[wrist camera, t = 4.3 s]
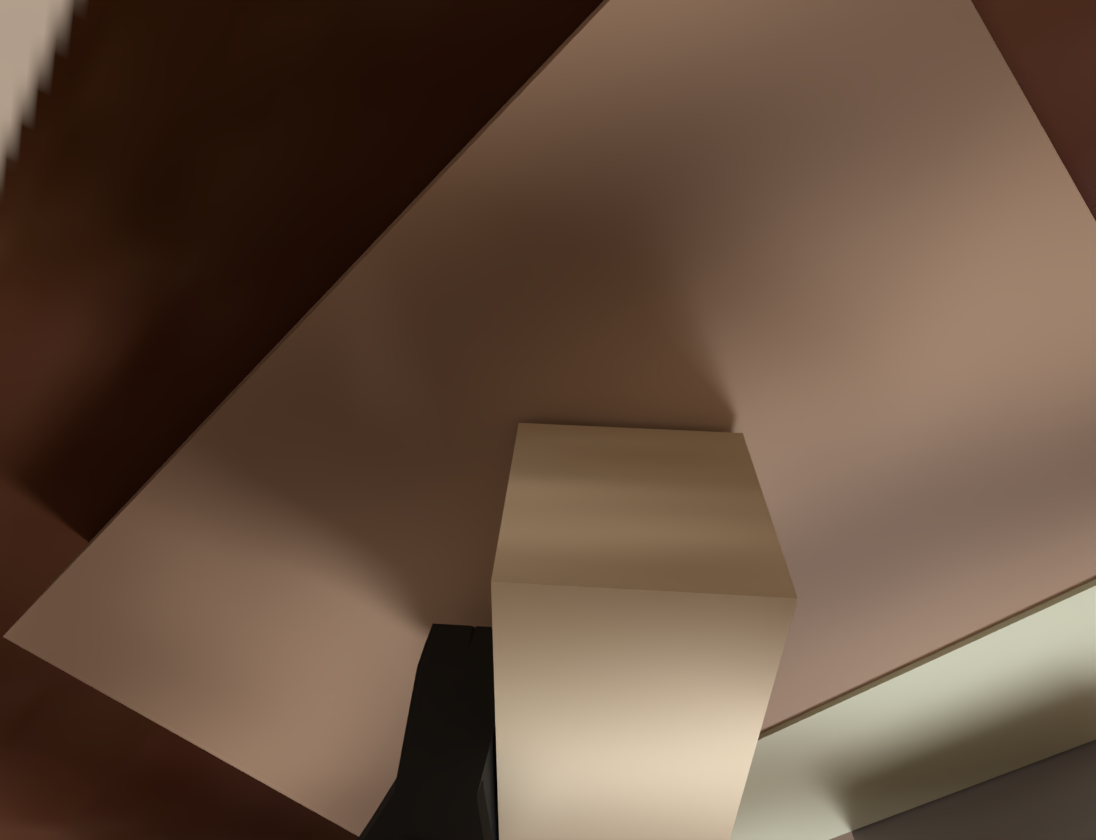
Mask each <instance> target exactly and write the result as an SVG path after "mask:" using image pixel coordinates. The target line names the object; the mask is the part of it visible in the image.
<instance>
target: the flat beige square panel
mask: <svg viewBox="0 0 1096 840" xmlns="http://www.w3.org/2000/svg"><path fill="white" fill-rule="evenodd" d="M519 423H534V424H555V425H577V426H599V427H621V428H643V429H665V430H687V431H709V432H731V433H743V436H744V439H745V442H746V445H747V448H748V451H749V453H750V456H751V459H752V462H753V465H754V468H755V471H756V474H757V477H758V480H759V483H760V486H761V489H762V492H763V495H764V498H765V501H766V504H767V507H768V510H769V513H770V516H771V519H772V522H773V525H774V528H775V531H776V534H777V537H778V540H779V543H780V546H781V549H782V552H783V555H784V558H785V561H786V564H787V567H788V570H789V573H790V576H791V579H792V582H793V585H794V588H795V591H796V594H797V597H798V599H797V603H796V607H795V610H794V614H793V617H792V621H791V624H790V628H789V631H788V635H787V638H786V642H785V646H784V649H783V653H782V656H781V660H780V663H779V667H778V670H777V674H776V677H775V681H774V684H773V688H772V692H771V695H770V699H769V702H768V706H767V709H766V713H765V716H764V720H763V723H762V727H761V731H760V734H759V738H758V741H757V745H756V748H755V752H754V755H753V759H752V762H751V766H750V770H749V773H748V777H747V780H746V784H745V787H744V791H743V794H742V798H741V801H740V805H739V808H738V812H737V816H736V819H735V823H734V826H733V830H732V833H731V837H730V840H1096V221H1095V219H1094V218H1093V216H1092V214H1091V212H1090V211H1089V209H1088V207H1087V205H1086V204H1085V202H1084V200H1083V198H1082V196H1081V195H1080V193H1079V191H1078V189H1077V188H1076V186H1075V184H1074V182H1073V180H1072V179H1071V177H1070V175H1069V173H1068V172H1067V170H1066V168H1065V166H1064V165H1063V163H1062V161H1061V159H1060V157H1059V156H1058V154H1057V152H1056V150H1055V149H1054V147H1053V145H1052V143H1051V141H1050V140H1049V138H1048V136H1047V134H1046V133H1045V131H1044V129H1043V127H1042V126H1041V124H1040V122H1039V120H1038V118H1037V117H1036V115H1035V113H1034V111H1033V110H1032V108H1031V106H1030V104H1029V103H1028V101H1027V99H1026V97H1025V95H1024V94H1023V92H1022V90H1021V88H1020V87H1019V85H1018V83H1017V81H1016V79H1015V78H1014V76H1013V74H1012V72H1011V71H1010V69H1009V67H1008V65H1007V64H1006V62H1005V60H1004V58H1003V56H1002V55H1001V53H1000V51H999V49H998V48H997V46H996V44H995V42H994V40H993V39H992V37H991V35H990V33H989V32H988V30H987V28H986V26H985V25H984V23H983V21H982V19H981V17H980V16H979V14H978V12H977V10H976V9H975V7H974V5H973V3H972V1H971V0H603V1H602V2H601V4H600V5H599V6H598V7H597V8H596V9H595V10H594V11H593V12H592V13H591V14H590V15H589V16H588V17H587V18H586V19H585V20H584V21H583V23H582V24H581V25H580V26H579V27H578V28H577V29H576V30H575V31H574V32H573V33H572V34H571V35H570V36H569V37H568V38H567V39H566V40H565V41H564V43H563V44H562V45H561V46H560V47H559V48H558V49H557V50H556V51H555V52H554V53H553V54H552V55H551V56H550V57H549V58H548V59H547V60H546V61H545V63H544V64H543V65H542V66H541V67H540V68H539V69H538V70H537V71H536V72H535V73H534V74H533V75H532V76H531V77H530V78H529V79H528V80H527V81H526V83H525V84H524V85H523V86H522V87H521V88H520V89H519V90H518V91H517V92H516V93H515V94H514V95H513V96H512V97H511V98H510V99H509V100H508V101H507V103H506V104H505V105H504V106H503V107H502V108H501V109H500V110H499V111H498V112H497V113H496V114H495V115H494V116H493V117H492V118H491V119H490V120H489V121H488V123H487V124H486V125H485V126H484V127H483V128H482V129H481V130H480V131H479V132H478V133H477V134H476V135H475V136H474V137H473V138H472V139H471V140H470V142H469V143H468V144H467V145H466V146H465V147H464V148H463V149H462V150H461V151H460V152H459V153H458V154H457V155H456V156H455V157H454V158H453V159H452V160H451V162H450V163H449V164H448V165H447V166H446V167H445V168H444V169H443V170H442V171H441V172H440V173H439V174H438V175H437V176H436V177H435V178H434V179H433V180H432V182H431V183H430V184H429V185H428V186H427V187H426V188H425V189H424V190H423V191H422V192H421V193H420V194H419V195H418V196H417V197H416V198H415V199H414V200H413V202H412V203H411V204H410V205H409V206H408V207H407V208H406V209H405V210H404V211H403V212H402V213H401V214H400V215H399V216H398V217H397V218H396V219H395V220H394V222H393V223H392V224H391V225H390V226H389V227H388V228H387V229H386V230H385V231H384V232H383V233H382V234H381V235H380V236H379V237H378V238H377V239H376V240H375V242H374V243H373V244H372V245H371V246H370V247H369V248H368V249H367V250H366V251H365V252H364V253H363V254H362V255H361V256H360V257H359V258H358V259H357V260H356V262H355V263H354V264H353V265H352V266H351V267H350V268H349V269H348V270H347V271H346V272H345V273H344V274H343V275H342V276H341V277H340V278H339V279H338V281H337V282H336V283H335V284H334V285H333V286H332V287H331V288H330V289H329V290H328V291H327V292H326V293H325V294H324V295H323V296H322V297H321V298H320V299H319V301H318V302H317V303H316V304H315V305H314V306H313V307H312V308H311V309H310V310H309V311H308V312H307V313H306V314H305V315H304V316H303V317H302V318H301V319H300V321H299V322H298V323H297V324H296V325H295V326H294V327H293V328H292V329H291V330H290V331H289V332H288V333H287V334H286V335H285V336H284V337H283V338H282V339H281V341H280V342H279V343H278V344H277V345H276V346H275V347H274V348H273V349H272V350H271V351H270V352H269V353H268V354H267V355H266V356H265V357H264V358H263V359H262V361H261V362H260V363H259V364H258V365H257V366H256V367H255V368H254V369H253V370H252V371H251V372H250V373H249V374H248V375H247V376H246V377H245V378H244V379H243V381H242V382H241V383H240V384H239V385H238V386H237V387H236V388H235V389H234V390H233V391H232V392H231V393H230V394H229V395H228V396H227V397H226V398H225V400H224V401H223V402H222V403H221V404H220V405H219V406H218V407H217V408H216V409H215V410H214V411H213V412H212V413H211V414H210V415H209V416H208V417H207V418H206V420H205V421H204V422H203V423H202V424H201V425H200V426H199V427H198V428H197V429H196V430H195V431H194V432H193V433H192V434H191V435H190V436H189V437H188V438H187V440H186V441H185V442H184V443H183V444H182V445H181V446H180V447H179V448H178V449H177V450H176V451H175V452H174V453H173V454H172V455H171V456H170V457H169V458H168V460H167V461H166V462H165V463H164V464H163V465H162V466H161V467H160V468H159V469H158V470H157V471H156V472H155V473H154V474H153V475H152V476H151V477H150V478H149V480H148V481H147V482H146V483H145V484H144V485H143V486H142V487H141V488H140V489H139V490H138V491H137V492H136V493H135V494H134V495H133V496H132V497H131V498H130V500H129V501H128V502H127V503H126V504H125V505H124V506H123V507H122V508H121V509H120V510H119V511H118V512H117V513H116V514H115V515H114V516H113V517H112V519H111V520H110V521H109V522H108V523H107V524H106V525H105V526H104V527H103V528H102V529H101V530H100V531H99V532H98V533H97V534H96V535H95V536H94V537H93V539H92V540H91V541H90V542H89V543H88V544H87V545H86V546H85V547H84V548H83V549H82V550H81V551H80V553H79V554H78V555H77V556H76V557H75V558H74V559H73V560H72V561H71V562H70V563H69V565H68V566H67V567H66V568H65V569H64V570H63V571H62V572H61V573H60V574H59V576H58V577H57V578H56V579H55V580H54V581H53V582H52V583H51V584H50V585H49V586H48V588H47V589H46V590H45V591H44V592H43V593H42V594H41V595H40V596H39V597H38V599H37V600H36V601H35V602H34V603H33V604H32V605H31V606H30V607H29V608H28V609H27V611H26V612H25V613H24V614H23V615H22V616H21V617H20V618H19V619H18V620H17V622H16V623H15V624H14V625H13V626H12V627H11V628H10V629H9V630H8V631H7V632H6V634H5V635H4V636H3V637H4V638H6V639H8V640H9V641H11V642H13V643H15V644H16V645H18V646H20V647H22V648H24V649H25V650H27V651H29V652H31V653H33V654H34V655H36V656H38V657H40V658H41V659H43V660H45V661H47V662H49V663H50V664H52V665H54V666H56V667H57V668H59V669H61V670H63V671H65V672H66V673H68V674H70V675H72V676H73V677H75V678H77V679H79V680H81V681H82V682H84V683H86V684H88V685H90V686H91V687H93V688H95V689H97V690H98V691H100V692H102V693H104V694H106V695H107V696H109V697H111V698H113V699H114V700H116V701H118V702H120V703H122V704H123V705H125V706H127V707H129V708H130V709H132V710H134V711H136V712H138V713H139V714H141V715H143V716H145V717H147V718H148V719H150V720H152V721H154V722H155V723H157V724H159V725H161V726H163V727H164V728H166V729H168V730H170V731H171V732H173V733H175V734H177V735H179V736H180V737H182V738H184V739H186V740H187V741H189V742H191V743H193V744H195V745H196V746H198V747H200V748H202V749H204V750H205V751H207V752H209V753H211V754H212V755H214V756H216V757H218V758H220V759H221V760H223V761H225V762H227V763H228V764H230V765H232V766H234V767H236V768H237V769H239V770H241V771H243V772H244V773H246V774H248V775H250V776H252V777H253V778H255V779H257V780H259V781H260V782H262V783H264V784H266V785H268V786H269V787H271V788H273V789H275V790H277V791H278V792H280V793H282V794H284V795H285V796H287V797H289V798H291V799H293V800H294V801H296V802H298V803H300V804H301V805H303V806H305V807H307V808H309V809H310V810H312V811H314V812H316V813H317V814H319V815H321V816H323V817H325V818H326V819H328V820H330V821H332V822H334V823H335V824H337V825H339V826H341V827H342V828H344V829H346V830H348V831H350V832H351V833H353V834H355V835H357V836H358V837H359V836H360V834H361V833H362V831H363V830H364V828H365V827H366V825H367V824H368V822H369V821H370V819H371V818H372V816H373V815H374V813H375V812H376V810H377V808H378V807H379V805H380V803H381V802H382V800H383V799H384V797H385V795H386V794H387V792H388V791H389V789H390V787H391V786H392V784H393V782H394V781H395V779H396V778H397V773H398V767H399V762H400V756H401V751H402V745H403V740H404V734H405V729H406V723H407V718H408V712H409V707H410V702H411V696H412V691H413V686H414V680H415V675H416V670H417V666H418V663H419V660H420V657H421V654H422V651H423V648H424V645H425V642H426V640H427V637H428V635H429V632H430V629H431V627H432V624H433V623H434V624H451V625H468V626H473V627H476V626H485V627H492V599H491V578H492V573H493V567H494V561H495V556H496V550H497V544H498V538H499V533H500V527H501V521H502V515H503V510H504V504H505V498H506V493H507V487H508V481H509V475H510V470H511V464H512V458H513V452H514V447H515V441H516V435H517V430H518V424H519Z"/></svg>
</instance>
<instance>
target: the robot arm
mask: <svg viewBox="0 0 1096 840" xmlns="http://www.w3.org/2000/svg"><path fill="white" fill-rule="evenodd" d="M357 840H499V820H498V789H497V757H496V726H495V694H494V662H493V631H492V627H485V626H476V627H473V626H468V625H451V624H434V623H433V624H432V627H431V629H430V632H429V635H428V637H427V640H426V642H425V645H424V648H423V651H422V654H421V657H420V660H419V663H418V666H417V670H416V675H415V680H414V686H413V691H412V696H411V702H410V707H409V712H408V718H407V723H406V729H405V734H404V740H403V745H402V751H401V756H400V762H399V767H398V773H397V778H396V779H395V781H394V782H393V784H392V786H391V787H390V789H389V791H388V792H387V794H386V795H385V797H384V799H383V800H382V802H381V803H380V805H379V807H378V808H377V810H376V812H375V813H374V815H373V816H372V818H371V819H370V821H369V822H368V824H367V825H366V827H365V828H364V830H363V831H362V833H361V834H360V836H359V837H358V839H357Z"/></svg>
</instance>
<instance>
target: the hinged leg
mask: <svg viewBox="0 0 1096 840" xmlns="http://www.w3.org/2000/svg"><path fill="white" fill-rule="evenodd" d="M491 599H492V631H493V662H494V694H495V726H496V757H497V789H498V820H499V840H730V837H731V833H732V830H733V826H734V823H735V819H736V816H737V812H738V808H739V805H740V801H741V798H742V794H743V791H744V787H745V784H746V780H747V777H748V773H749V770H750V766H751V762H752V759H753V755H754V752H755V748H756V745H757V741H758V738H759V734H760V731H761V727H762V723H763V720H764V716H765V713H766V709H767V706H768V702H769V699H770V695H771V692H772V688H773V684H774V681H775V677H776V674H777V670H778V667H779V663H780V660H781V656H782V653H783V649H784V646H785V642H786V638H787V635H788V631H789V628H790V624H791V621H792V617H793V614H794V610H795V607H796V603H797V599H798V597H797V594H796V591H795V588H794V585H793V582H792V579H791V576H790V573H789V570H788V567H787V564H786V561H785V558H784V555H783V552H782V549H781V546H780V543H779V540H778V537H777V534H776V531H775V528H774V525H773V522H772V519H771V516H770V513H769V510H768V507H767V504H766V501H765V498H764V495H763V492H762V489H761V486H760V483H759V480H758V477H757V474H756V471H755V468H754V465H753V462H752V459H751V456H750V453H749V451H748V448H747V445H746V442H745V439H744V436H743V433H731V432H709V431H687V430H665V429H643V428H621V427H599V426H577V425H555V424H534V423H519V424H518V430H517V435H516V441H515V447H514V452H513V458H512V464H511V470H510V475H509V481H508V487H507V493H506V498H505V504H504V510H503V515H502V521H501V527H500V533H499V538H498V544H497V550H496V556H495V561H494V567H493V573H492V578H491Z"/></svg>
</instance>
